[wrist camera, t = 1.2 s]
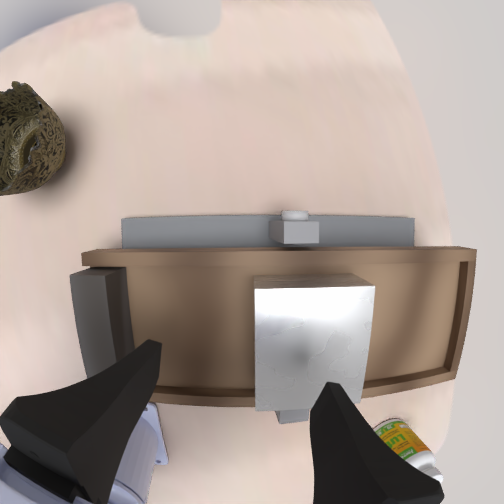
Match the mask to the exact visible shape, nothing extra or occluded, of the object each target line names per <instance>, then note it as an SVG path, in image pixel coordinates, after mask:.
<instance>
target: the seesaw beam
mask: <svg viewBox="0 0 504 504" xmlns="http://www.w3.org/2000/svg"><path fill="white" fill-rule="evenodd" d="M476 252H477V250H476V249H470V248H465V247H458V246H457V247H456V246H432V247H249V248H155V249H96V250H92V251H88V252H83V253H81V255H82V266H90V268H88V269H86V270H83V271H80V272H77V273H74V274H71V275H70V284H71V293H72V301H73V308H74V314H75V321H76V327H77V332H78V338H79V343H80V348H81V353H82V358H83V362H84V366H85V371H86V375H87V379H88V378H90V377H92V376H94V375H96V374H98V373H99V372H101V371H103V370H105V369H106V368H108V367H110V366H111V365H113V364H114V363H116V362H117V361H119V360H120V359H122V358H123V357H125V356H126V355H128V354H129V353H130V352H132V351H133V350H134V349H136V348H137V347H138V346H140V345H141V344H142V343H143V342H145V341H146V340H148V339H151V340H154V341H157V342H160V343H162V350H161V361H160V372H159V378H158V381H157V384H156V386H155V389H154V391H153V394H152V396H151V398H150V400H149V402H157V403H167V404H179V405H193V406H214V407H255V381H254V275H307V274H349V273H353V274H355V275H357V276H359V277H360V278H362V279H364V280H366V281H368V282H369V283H371V284H373V285H375V296H374V307H373V318H372V327H371V336H370V344H369V351H368V359H367V365H366V372H365V378H364V384H363V390H362V395H361V399H362V398H368V397H375V396H381V395H386V394H392V393H397V392H402V391H407V390H412V389H416V388H421V387H425V386H429V385H433V384H437V383H441V382H445V381H449V380H452V379H455V377H456V374H457V370H458V366H459V362H460V358H461V354H462V349H463V345H464V341H465V336H466V331H467V325H468V320H469V314H470V308H471V302H472V294H473V286H474V277H475V266H476Z"/></svg>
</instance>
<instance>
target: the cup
mask: <svg viewBox="0 0 504 504" xmlns="http://www.w3.org/2000/svg"><path fill="white" fill-rule="evenodd" d="M12 87H13V89H8V90H7V91H5V92H1V91H0V196H3V195H12V194H19V193H24V192H29V191H32V190H34V189H37V188H39V187H40V186H42V185H43V184H45V183H46V182H47V181H48V180H49V179H50V178H51V177H52V176H53V175H54V174H55V173H56V172H57V171H58V170H59V169H60V168H61V166H62V164H63V162H64V160H65V155H66V148H65V133H64V129H63V125H62V123H61V121H60V119H59V117H58V116H57V115H56V113H55V112H54V111H53V110H52V108H51V107H50V106H49V105H48V104H47V103H46V102H45V101H44V100H43V99H42V98H41V97H40V96H39V95H38V94H37V93H36V92H35V91H34V90H33V89H32V87H31V86H29V85H28V84H26V83H22V84H20V83H19V82H17V81H13V82H12Z"/></svg>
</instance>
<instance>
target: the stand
mask: <svg viewBox="0 0 504 504" xmlns="http://www.w3.org/2000/svg"><path fill="white" fill-rule="evenodd" d="M121 227H122V249H155V248H249V247H414V218H401V217H373V216H330V215H308V211H281V215H220V216H177V217H148V218H124V219H121ZM275 412H276V415H277V418H278V421H279V424H286V423H294V422H301V421H308V418H309V409H297V410H279V411H275Z"/></svg>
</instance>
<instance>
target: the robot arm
mask: <svg viewBox="0 0 504 504" xmlns="http://www.w3.org/2000/svg"><path fill="white" fill-rule="evenodd" d="M161 350H162V343H160V342H157V341H154V340H151V339H148V340H146V341H145V342H143V343H142V344H141V345H140V346H138V347H137V348H136V349H134V350H133V351H132V352H130V353H129V354H128V355H126V356H125V357H123V358H122V359H120V360H119V361H117V362H116V363H114V364H113V365H111V366H110V367H108V368H106V369H105V370H103V371H101V372H99V373H98V374H96V375H94V376H92V377H90V378H88V379H85V380H83V381H81V382H79V383H76V384H73V385H71V386H68V387H65V388H62V389H59V390H55V391H51V392H47V393H42V394H37V395H29V396H21V397H16V398H15V399H14V400H13V401H12V402H11V404H10V405H9V406H8V407H7V409H6V410H5V411H4V412H3V414H2V415H1V416H0V426H1V428H2V430H3V432H4V433H5V435H6V437H7V439H8V440H9V442H10V443H11V447H10V448H9V450H8V449H7V448H6V447H5V446H4V445H3V444H1V443H0V504H147V499H148V494H149V488H150V483H151V478H152V473H153V468H154V464H160V465H166V464H168V461H169V460H168V456H167V452H166V448H165V444H164V439H163V435H162V431H161V426H160V421H159V417H158V412H157V407H156V405H155V404H153V403H148V402H149V400H150V398H151V396H152V394H153V391H154V389H155V386H156V384H157V381H158V378H159V372H160V361H161ZM146 407H147V408H148V409H145V408H146ZM310 438H311V448H312V456H313V466H314V500H313V504H440V503H441V502H442V500H443V499H444V493H443V490H442V487H441V484H440V482H439V481H438V480H436V479H434V478H432V477H430V476H429V475H427V474H425V473H423V472H421V471H420V470H418V469H417V468H415V467H414V466H412V465H411V464H409V463H408V462H407V461H405V460H404V459H403V458H401V457H400V456H399V455H398V454H397V453H395V452H394V451H393V450H392V449H391V448H390V447H389V446H388V445H387V444H386V443H385V442H384V441H383V440H382V439H381V438H380V437H379V436H378V435H377V434H376V432H375V431H374V430H373V429H372V428H371V426H370V425H369V424H368V423H367V421H366V420H365V419H364V417H363V416H362V415H361V413H360V412H359V411H358V409H357V408H356V406H355V405H354V403H353V402H352V401H351V399H350V398H349V396H348V395H347V393H346V392H345V390H344V389H343V387H342V386H341V385H340V383H334V382H326V384H325V386H324V388H323V390H322V391H321V393H320V395H319V397H318V399H317V400H316V402H315V404H314V406H313V407H312V409H311V411H310ZM158 460H160V461H158Z"/></svg>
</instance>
